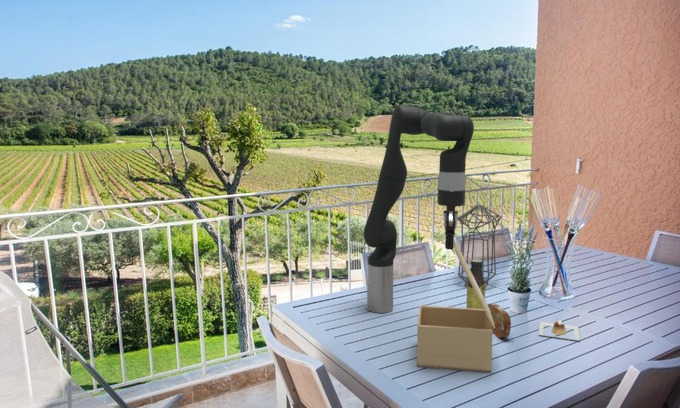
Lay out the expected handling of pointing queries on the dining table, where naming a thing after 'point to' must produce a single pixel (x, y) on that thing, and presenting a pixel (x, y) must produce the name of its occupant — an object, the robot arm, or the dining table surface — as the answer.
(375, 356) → the dining table surface
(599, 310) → the dining table surface
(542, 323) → the dessert
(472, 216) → the geometric lantern
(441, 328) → the carton
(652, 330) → the dining table surface
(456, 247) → the lid flap
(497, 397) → the dining table surface
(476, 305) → the sauce bottle
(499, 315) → the steak
